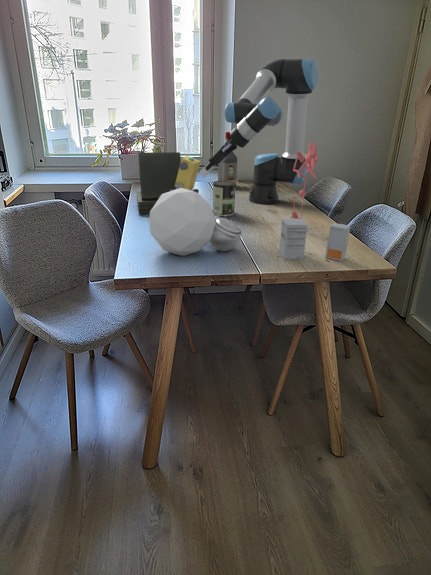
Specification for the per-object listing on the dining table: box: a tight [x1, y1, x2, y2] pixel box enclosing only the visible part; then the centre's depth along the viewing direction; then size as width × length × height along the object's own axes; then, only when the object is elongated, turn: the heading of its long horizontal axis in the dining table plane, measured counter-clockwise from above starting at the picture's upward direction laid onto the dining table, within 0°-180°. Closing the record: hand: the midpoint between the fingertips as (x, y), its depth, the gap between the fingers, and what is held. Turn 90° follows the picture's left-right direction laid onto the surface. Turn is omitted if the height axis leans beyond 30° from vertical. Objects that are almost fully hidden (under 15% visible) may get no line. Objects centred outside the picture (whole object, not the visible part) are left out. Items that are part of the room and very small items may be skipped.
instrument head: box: [175, 155, 201, 190], centre depth 176 cm, size 6×9×13 cm, turn 159°
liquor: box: [217, 131, 238, 188], centre depth 241 cm, size 9×9×30 cm
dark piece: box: [136, 151, 182, 216], centre depth 200 cm, size 23×20×25 cm
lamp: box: [148, 188, 242, 257], centre depth 151 cm, size 22×34×24 cm, turn 100°
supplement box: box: [278, 218, 308, 260], centre depth 151 cm, size 7×7×13 cm
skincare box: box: [325, 222, 351, 262], centre depth 150 cm, size 6×4×12 cm
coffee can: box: [212, 180, 237, 217], centre depth 197 cm, size 10×10×14 cm
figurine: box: [289, 141, 323, 233], centre depth 175 cm, size 15×26×35 cm, turn 6°
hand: (202, 174), depth 174 cm, fingers closed
